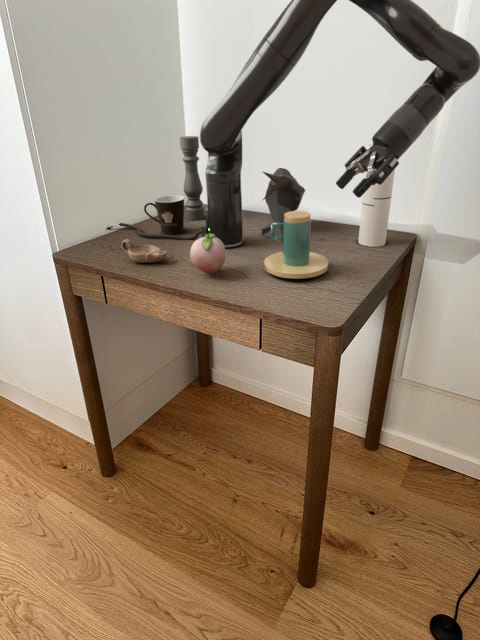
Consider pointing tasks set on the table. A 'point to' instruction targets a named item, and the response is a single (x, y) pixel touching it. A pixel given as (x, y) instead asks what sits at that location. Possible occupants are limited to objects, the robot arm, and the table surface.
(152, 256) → the oil lamp
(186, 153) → the candle holder
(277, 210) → the narwhal figurine
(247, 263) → the table surface
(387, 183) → the cylindrical container
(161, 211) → the coffee mug
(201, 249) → the decorative fruit
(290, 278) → the turntable base
